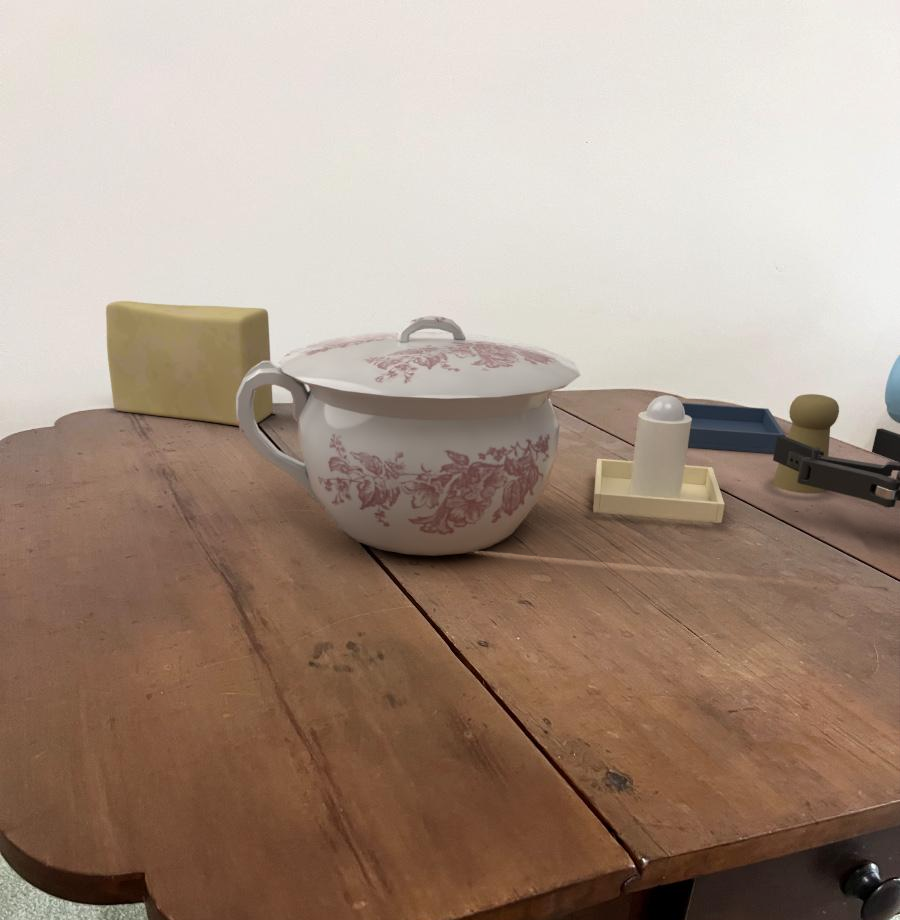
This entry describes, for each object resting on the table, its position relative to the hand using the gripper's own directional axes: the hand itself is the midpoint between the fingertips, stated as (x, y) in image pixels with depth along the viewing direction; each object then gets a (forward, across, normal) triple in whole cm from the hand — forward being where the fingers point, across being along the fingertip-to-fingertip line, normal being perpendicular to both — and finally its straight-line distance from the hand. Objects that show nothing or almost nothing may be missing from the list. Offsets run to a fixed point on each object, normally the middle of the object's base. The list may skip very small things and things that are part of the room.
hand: (828, 443), depth 102 cm
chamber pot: (+2, -47, -6) cm, 47 cm away
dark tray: (+27, +5, -6) cm, 28 cm away
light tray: (+4, -19, -6) cm, 21 cm away
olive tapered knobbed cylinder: (+3, 0, -7) cm, 7 cm away
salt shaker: (+4, -19, -6) cm, 20 cm away
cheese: (+54, -64, -7) cm, 84 cm away
